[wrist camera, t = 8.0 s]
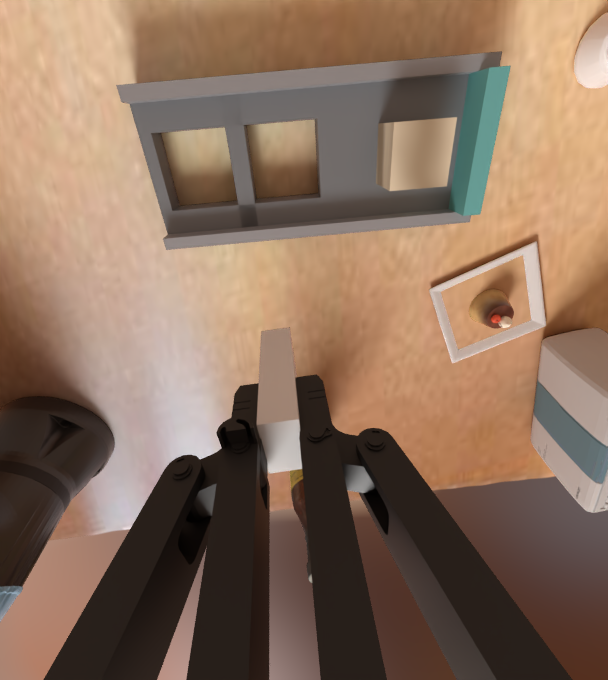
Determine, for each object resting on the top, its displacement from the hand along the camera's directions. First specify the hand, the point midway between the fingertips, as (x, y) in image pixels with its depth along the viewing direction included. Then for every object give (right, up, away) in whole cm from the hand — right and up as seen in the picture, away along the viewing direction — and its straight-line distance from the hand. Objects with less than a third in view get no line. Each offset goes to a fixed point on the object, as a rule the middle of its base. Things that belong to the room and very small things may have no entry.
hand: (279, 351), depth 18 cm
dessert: (+24, +5, +23) cm, 33 cm away
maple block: (+10, +17, +11) cm, 22 cm away
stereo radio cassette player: (+38, -6, +30) cm, 49 cm away
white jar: (+26, +25, +10) cm, 38 cm away
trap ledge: (+2, +17, +13) cm, 22 cm away
